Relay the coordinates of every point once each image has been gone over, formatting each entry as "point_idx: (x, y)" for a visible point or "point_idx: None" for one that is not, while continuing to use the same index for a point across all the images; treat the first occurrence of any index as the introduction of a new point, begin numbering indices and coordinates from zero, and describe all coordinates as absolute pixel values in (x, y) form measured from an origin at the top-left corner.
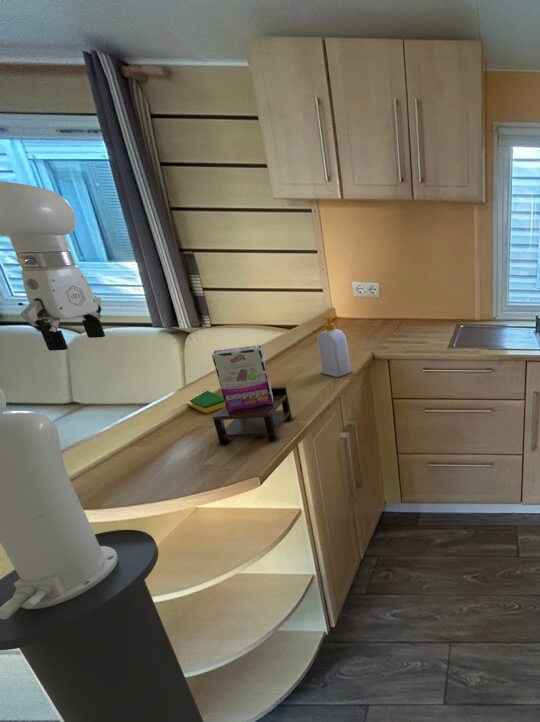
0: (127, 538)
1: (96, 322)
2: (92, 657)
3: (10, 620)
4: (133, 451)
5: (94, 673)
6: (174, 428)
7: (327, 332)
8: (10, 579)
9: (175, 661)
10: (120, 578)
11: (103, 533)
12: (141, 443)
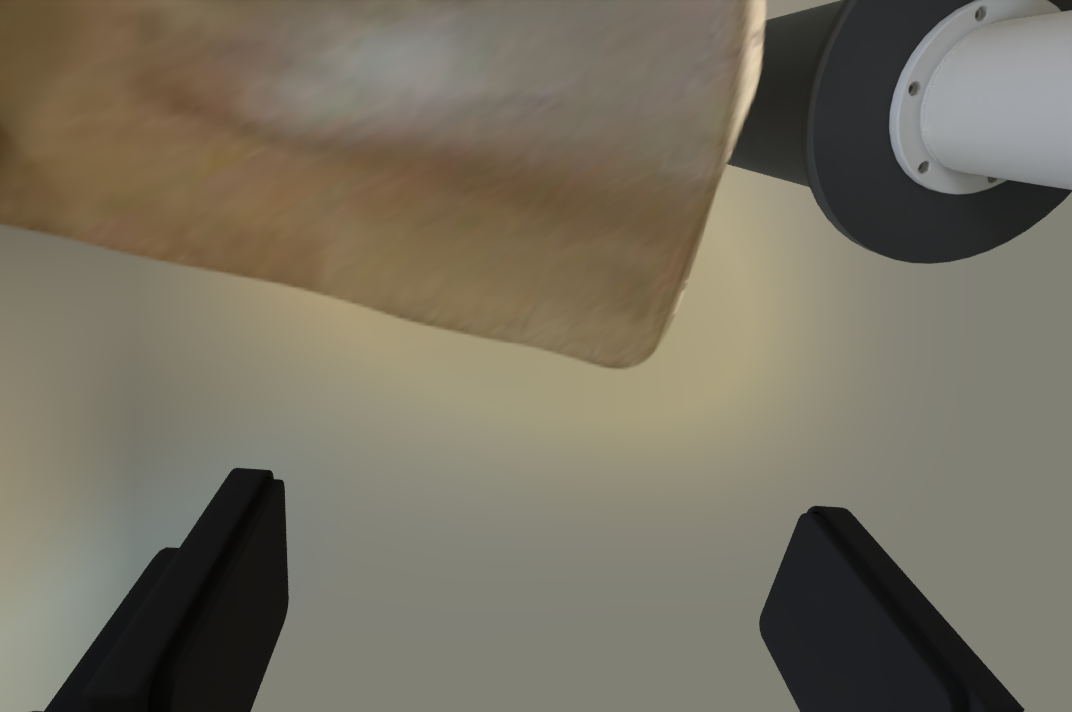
0: (878, 26)
1: (187, 668)
2: None
3: None
4: (359, 268)
5: None
6: (163, 204)
7: None
8: (912, 238)
9: (776, 17)
10: None
11: (819, 115)
12: (296, 272)
